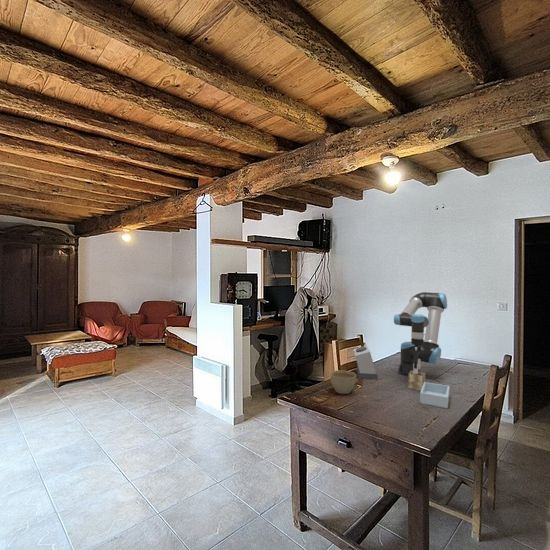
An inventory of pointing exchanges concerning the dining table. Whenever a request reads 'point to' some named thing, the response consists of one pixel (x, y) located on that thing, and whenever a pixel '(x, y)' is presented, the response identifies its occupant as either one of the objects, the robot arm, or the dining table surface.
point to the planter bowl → (343, 381)
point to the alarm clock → (365, 364)
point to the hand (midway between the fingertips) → (416, 370)
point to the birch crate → (416, 380)
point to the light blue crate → (434, 394)
